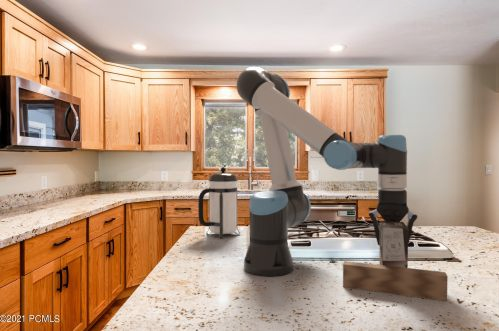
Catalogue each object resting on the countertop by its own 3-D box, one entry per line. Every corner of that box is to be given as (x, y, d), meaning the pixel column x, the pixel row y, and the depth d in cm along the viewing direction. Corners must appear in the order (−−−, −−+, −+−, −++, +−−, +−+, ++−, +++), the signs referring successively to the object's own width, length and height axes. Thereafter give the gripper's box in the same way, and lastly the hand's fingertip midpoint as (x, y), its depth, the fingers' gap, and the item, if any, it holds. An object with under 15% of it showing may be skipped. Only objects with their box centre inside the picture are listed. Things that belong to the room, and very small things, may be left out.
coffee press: (208, 230, 157) (208, 166, 156) (242, 231, 155) (242, 166, 154) (198, 239, 140) (197, 167, 139) (235, 240, 137) (235, 167, 137)
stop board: (342, 286, 88) (343, 264, 88) (344, 282, 91) (344, 260, 91) (447, 301, 80) (447, 276, 79) (444, 296, 82) (445, 272, 82)
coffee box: (408, 290, 86) (409, 228, 85) (381, 287, 88) (382, 226, 87) (403, 278, 94) (403, 221, 94) (378, 275, 96) (379, 220, 96)
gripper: (366, 189, 95) (367, 272, 96) (420, 191, 90) (420, 277, 91) (367, 187, 102) (367, 264, 103) (417, 188, 97) (417, 268, 98)
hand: (392, 270), depth 97 cm, fingers closed
